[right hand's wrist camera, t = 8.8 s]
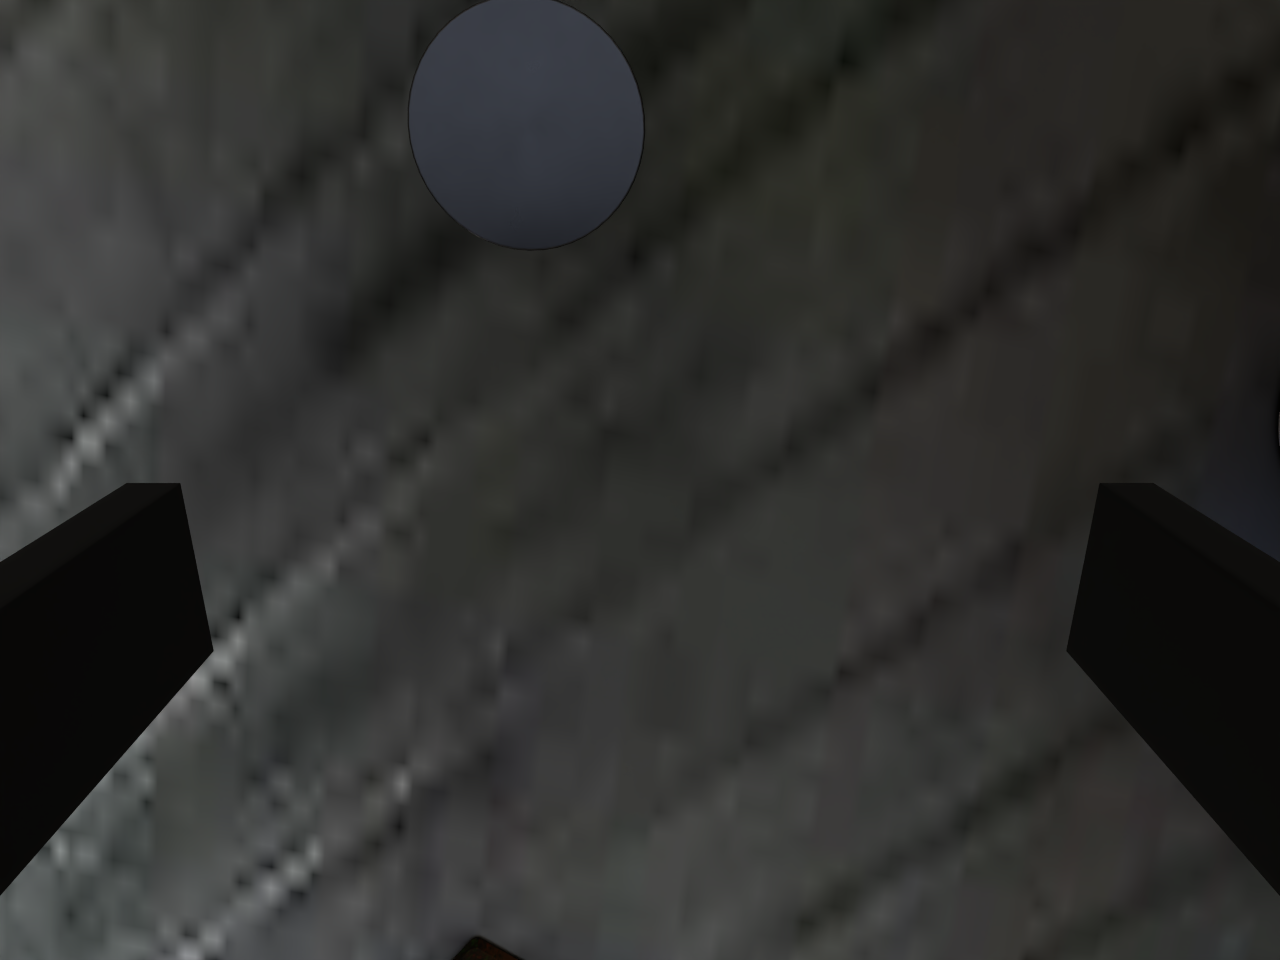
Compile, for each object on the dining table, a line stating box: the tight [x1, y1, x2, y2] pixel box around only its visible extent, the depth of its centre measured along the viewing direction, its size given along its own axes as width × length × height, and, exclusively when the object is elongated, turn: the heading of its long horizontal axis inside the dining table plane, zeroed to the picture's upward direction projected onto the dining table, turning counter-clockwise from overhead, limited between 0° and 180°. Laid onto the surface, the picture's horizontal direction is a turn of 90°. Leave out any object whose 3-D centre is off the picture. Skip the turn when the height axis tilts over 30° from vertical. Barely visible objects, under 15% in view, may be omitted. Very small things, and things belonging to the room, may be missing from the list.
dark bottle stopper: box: [408, 0, 645, 251], centre depth 19 cm, size 5×5×2 cm
